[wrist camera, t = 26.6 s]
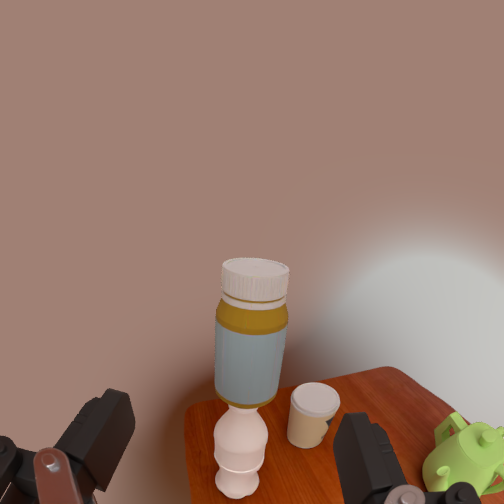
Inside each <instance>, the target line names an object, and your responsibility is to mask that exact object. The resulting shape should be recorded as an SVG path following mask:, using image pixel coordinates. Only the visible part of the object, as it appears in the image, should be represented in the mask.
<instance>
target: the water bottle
mask: <svg viewBox="0 0 504 504" xmlns="http://www.w3.org/2000/svg"><path fill="white" fill-rule="evenodd" d="M228 405H229V404H228ZM257 409H258V408H255V409H240V408H236V407H233V406H231V405H229V410H228V411H227V412H226V413H225V414H224V415H223V416H222V417H221V418H220V419H219V421H218V422H217V424H216V426H215V429H214V439H215V451H214V457H215V459H216V461H217V462H218V464H219V467H220V469H219V470H218V472H217V474H216V477H215V482H216V486H217V488H218V489H219V490H220V491H222V492H223V493H224V494H225V495H226V496H227V497H229V498H234V499H240V498H243V497H244V496H246V495H248V496H249V495H251V494H252V493H253V492H254V491H255V490H256V489H257V487H258V484H259V477H258V474H257V471H258V470H259V469H260V467H261V466H262V464H263V460H264V451H265V446H266V443H267V440H268V431H267V427H266V425H265V423H264V421H263V420H262V418H261V417H260V415H259V414H258V413H257V411H256V410H257Z"/></svg>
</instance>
